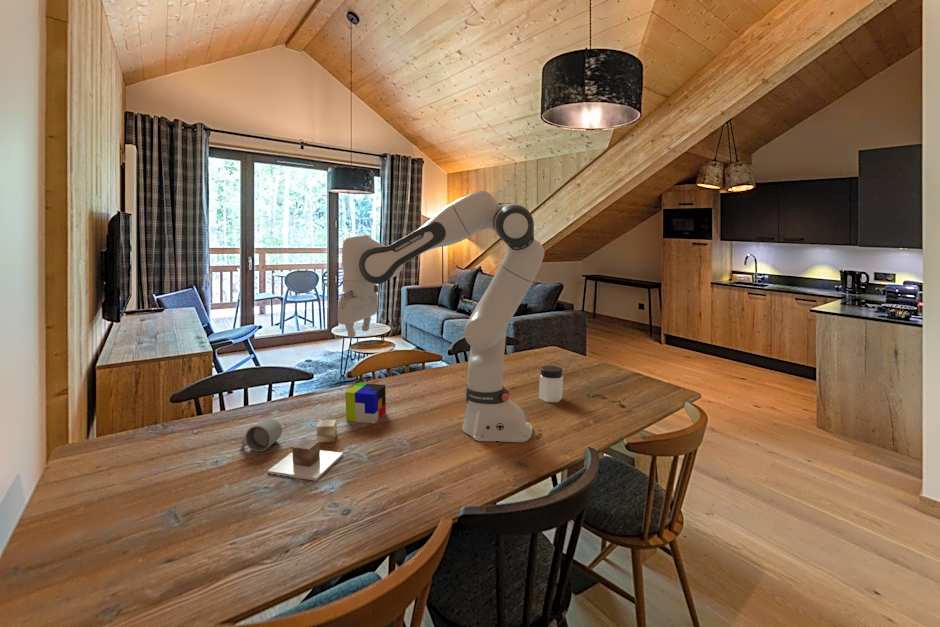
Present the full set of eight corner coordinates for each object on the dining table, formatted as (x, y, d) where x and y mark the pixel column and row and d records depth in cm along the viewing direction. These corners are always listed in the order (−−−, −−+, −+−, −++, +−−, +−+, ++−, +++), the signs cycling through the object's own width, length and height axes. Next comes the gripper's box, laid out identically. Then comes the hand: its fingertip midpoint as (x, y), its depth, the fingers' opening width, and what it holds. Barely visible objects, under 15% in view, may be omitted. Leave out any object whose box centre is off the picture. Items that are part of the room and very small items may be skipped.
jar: (543, 393, 187) (545, 364, 185) (564, 397, 183) (565, 367, 181) (536, 400, 179) (537, 369, 177) (557, 404, 175) (558, 373, 173)
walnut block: (320, 458, 130) (319, 441, 129) (310, 466, 125) (309, 449, 124) (303, 456, 131) (302, 439, 130) (293, 464, 126) (292, 447, 125)
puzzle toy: (374, 423, 156) (373, 394, 154) (346, 420, 158) (345, 392, 156) (385, 412, 165) (385, 385, 164) (359, 409, 167) (358, 382, 166)
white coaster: (343, 455, 133) (342, 452, 133) (316, 480, 120) (316, 477, 120) (298, 449, 136) (298, 447, 136) (267, 473, 123) (267, 470, 123)
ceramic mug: (284, 440, 143) (282, 415, 141) (271, 452, 135) (269, 426, 133) (250, 438, 143) (248, 414, 142) (235, 451, 135) (233, 425, 134)
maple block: (336, 434, 147) (336, 419, 146) (334, 441, 142) (333, 426, 141) (320, 435, 146) (319, 420, 145) (317, 442, 141) (316, 426, 141)
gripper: (351, 294, 133) (352, 342, 135) (381, 286, 152) (381, 328, 155) (330, 293, 134) (332, 340, 137) (362, 285, 154) (363, 326, 156)
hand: (358, 333), depth 146 cm, fingers open, 8 cm apart
